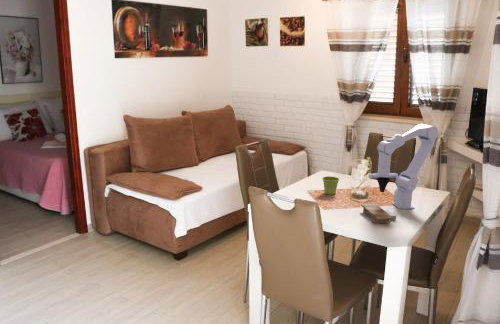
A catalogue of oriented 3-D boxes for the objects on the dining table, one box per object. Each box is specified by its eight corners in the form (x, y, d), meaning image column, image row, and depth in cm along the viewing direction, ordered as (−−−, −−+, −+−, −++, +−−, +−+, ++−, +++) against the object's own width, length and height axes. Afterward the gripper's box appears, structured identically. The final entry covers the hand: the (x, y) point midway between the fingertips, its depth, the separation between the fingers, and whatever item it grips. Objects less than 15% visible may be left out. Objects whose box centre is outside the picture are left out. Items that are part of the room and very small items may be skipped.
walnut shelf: (360, 210, 227) (361, 204, 227) (374, 210, 229) (375, 203, 228) (377, 225, 208) (377, 218, 207) (392, 224, 209) (393, 217, 208)
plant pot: (339, 196, 251) (340, 181, 249) (322, 195, 251) (323, 180, 249) (337, 191, 260) (337, 176, 258) (320, 190, 260) (321, 176, 258)
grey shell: (369, 214, 222) (369, 210, 222) (388, 214, 224) (388, 210, 223) (375, 220, 214) (376, 216, 214) (395, 219, 216) (396, 215, 215)
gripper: (373, 167, 220) (371, 194, 223) (401, 167, 222) (399, 193, 225) (367, 164, 227) (365, 190, 230) (395, 163, 229) (392, 189, 232)
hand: (381, 191), depth 228 cm, fingers closed
